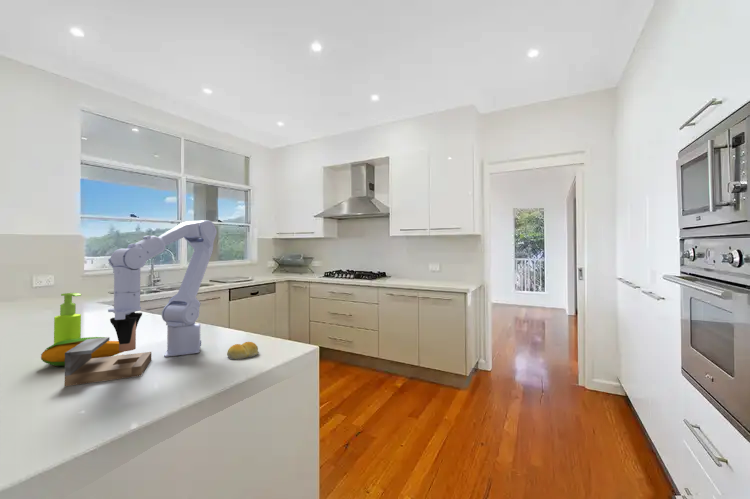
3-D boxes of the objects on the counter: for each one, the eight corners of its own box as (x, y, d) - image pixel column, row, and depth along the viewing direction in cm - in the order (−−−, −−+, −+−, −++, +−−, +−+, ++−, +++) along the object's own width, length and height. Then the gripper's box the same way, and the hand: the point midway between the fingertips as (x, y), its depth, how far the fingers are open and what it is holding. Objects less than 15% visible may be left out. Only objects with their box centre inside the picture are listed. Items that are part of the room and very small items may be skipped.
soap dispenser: (66, 362, 94) (67, 294, 94) (48, 361, 95) (49, 293, 95) (88, 356, 99) (88, 292, 100) (70, 355, 101) (71, 291, 101)
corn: (47, 337, 93) (132, 329, 102) (47, 363, 93) (132, 353, 103) (36, 345, 86) (128, 336, 96) (36, 373, 86) (128, 361, 96)
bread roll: (224, 355, 101) (224, 342, 101) (254, 350, 106) (254, 338, 106) (230, 362, 94) (230, 348, 94) (261, 356, 99) (261, 343, 99)
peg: (137, 347, 90) (138, 318, 90) (132, 350, 86) (132, 321, 86) (122, 348, 88) (122, 319, 89) (116, 352, 85) (116, 322, 85)
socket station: (151, 360, 95) (151, 333, 96) (140, 375, 83) (141, 344, 83) (86, 368, 89) (86, 339, 89) (64, 386, 76) (64, 352, 76)
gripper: (116, 290, 92) (116, 337, 92) (99, 295, 79) (99, 350, 79) (146, 289, 95) (145, 334, 95) (134, 294, 82) (134, 347, 82)
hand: (126, 341), depth 87 cm, fingers closed on peg, 4 cm apart
